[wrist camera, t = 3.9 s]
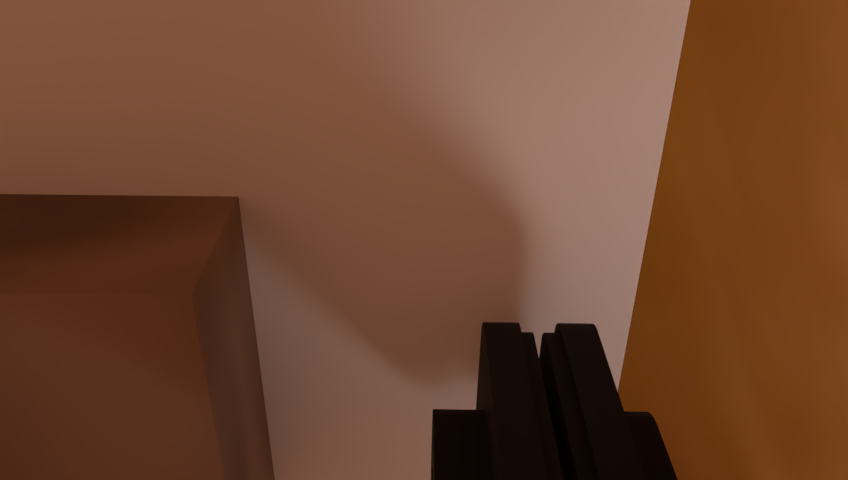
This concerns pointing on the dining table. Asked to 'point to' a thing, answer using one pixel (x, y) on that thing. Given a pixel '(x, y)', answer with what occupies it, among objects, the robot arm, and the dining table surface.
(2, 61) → the deck
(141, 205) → the tile
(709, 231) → the dining table surface
